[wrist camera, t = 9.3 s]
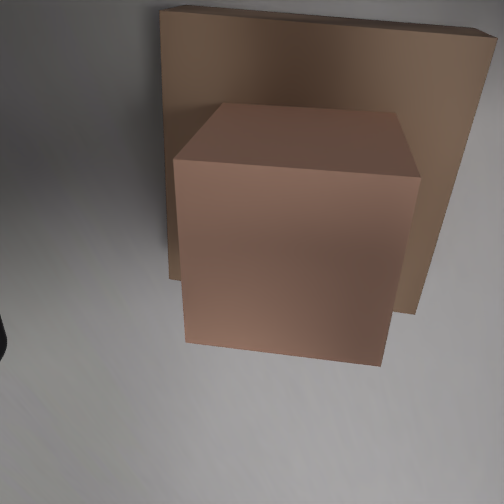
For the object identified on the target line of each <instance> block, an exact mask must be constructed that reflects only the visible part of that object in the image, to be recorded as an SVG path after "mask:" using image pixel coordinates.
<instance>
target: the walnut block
mask: <svg viewBox="0 0 504 504" xmlns="http://www.w3.org/2000/svg"><path fill="white" fill-rule="evenodd" d="M159 17H160V44H161V71H162V99H163V126H164V153H165V180H166V207H167V235H168V262H169V279H173V280H180V281H181V268H180V254H179V239H178V225H177V210H176V195H175V181H174V166H173V159H174V157H175V156H176V155H177V154H178V153H179V152H180V151H181V150H182V148H183V147H184V146H185V145H186V144H187V143H188V142H189V141H190V139H191V138H192V137H193V136H194V135H195V134H196V133H197V132H198V130H199V129H200V128H201V127H202V126H203V125H204V124H205V123H206V121H207V120H208V119H209V118H210V117H211V116H212V115H213V114H214V112H215V111H216V110H217V109H218V108H219V107H220V106H221V105H222V103H239V104H256V105H273V106H290V107H307V108H324V109H341V110H358V111H375V112H391V113H396V115H397V117H398V120H399V123H400V125H401V128H402V130H403V133H404V135H405V138H406V140H407V143H408V145H409V148H410V150H411V153H412V155H413V158H414V161H415V163H416V166H417V168H418V171H419V173H420V176H421V181H420V186H419V190H418V195H417V200H416V204H415V209H414V214H413V218H412V223H411V228H410V232H409V237H408V242H407V246H406V251H405V256H404V260H403V265H402V270H401V274H400V279H399V284H398V288H397V293H396V298H395V303H394V307H393V312H400V313H407V314H414V315H415V313H416V309H417V306H418V303H419V299H420V296H421V293H422V289H423V286H424V283H425V279H426V276H427V273H428V269H429V266H430V263H431V259H432V256H433V253H434V249H435V246H436V243H437V239H438V236H439V233H440V229H441V226H442V223H443V219H444V216H445V213H446V210H447V206H448V203H449V200H450V196H451V193H452V190H453V186H454V183H455V180H456V176H457V173H458V170H459V166H460V163H461V160H462V156H463V153H464V150H465V146H466V143H467V140H468V136H469V133H470V130H471V126H472V123H473V120H474V116H475V113H476V110H477V106H478V103H479V100H480V96H481V93H482V90H483V86H484V83H485V80H486V76H487V73H488V70H489V66H490V63H491V60H492V56H493V53H494V50H495V46H496V43H497V40H498V38H496V37H494V36H492V35H489V34H487V33H485V32H482V31H480V30H478V29H475V28H466V27H454V26H441V25H429V24H416V23H404V22H391V21H379V20H366V19H354V18H341V17H329V16H317V15H304V14H292V13H279V12H267V11H254V10H242V9H229V8H217V7H204V6H192V5H183V6H178V7H173V8H168V9H164V10H159Z"/></svg>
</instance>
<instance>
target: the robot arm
mask: <svg viewBox="0 0 504 504" xmlns="http://www.w3.org/2000/svg"><path fill="white" fill-rule="evenodd" d="M6 347H7V336H6V333H5V330H4V326H3V323H2V319H1V316H0V361H1V359H2V357H3V355H4V353H5V351H6Z"/></svg>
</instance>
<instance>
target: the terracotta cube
mask: <svg viewBox="0 0 504 504" xmlns="http://www.w3.org/2000/svg"><path fill="white" fill-rule="evenodd" d="M173 166H174V181H175V195H176V210H177V225H178V239H179V254H180V268H181V283H182V298H183V312H184V327H185V341H186V343H194V344H202V345H210V346H218V347H226V348H234V349H243V350H251V351H259V352H267V353H275V354H283V355H291V356H299V357H307V358H315V359H323V360H331V361H339V362H347V363H355V364H363V365H371V366H379V367H381V363H382V359H383V354H384V349H385V345H386V340H387V335H388V331H389V326H390V321H391V317H392V312H393V307H394V303H395V298H396V293H397V288H398V284H399V279H400V274H401V270H402V265H403V260H404V256H405V251H406V246H407V242H408V237H409V232H410V228H411V223H412V218H413V214H414V209H415V204H416V200H417V195H418V190H419V186H420V181H421V176H420V173H419V171H418V168H417V166H416V163H415V161H414V158H413V155H412V153H411V150H410V148H409V145H408V143H407V140H406V138H405V135H404V133H403V130H402V128H401V125H400V123H399V120H398V117H397V115H396V113H391V112H375V111H358V110H341V109H324V108H307V107H290V106H273V105H256V104H239V103H222V105H221V106H220V107H219V108H218V109H217V110H216V111H215V112H214V114H213V115H212V116H211V117H210V118H209V119H208V120H207V121H206V123H205V124H204V125H203V126H202V127H201V128H200V129H199V130H198V132H197V133H196V134H195V135H194V136H193V137H192V138H191V139H190V141H189V142H188V143H187V144H186V145H185V146H184V147H183V148H182V150H181V151H180V152H179V153H178V154H177V155H176V156H175V157H174V159H173Z"/></svg>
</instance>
